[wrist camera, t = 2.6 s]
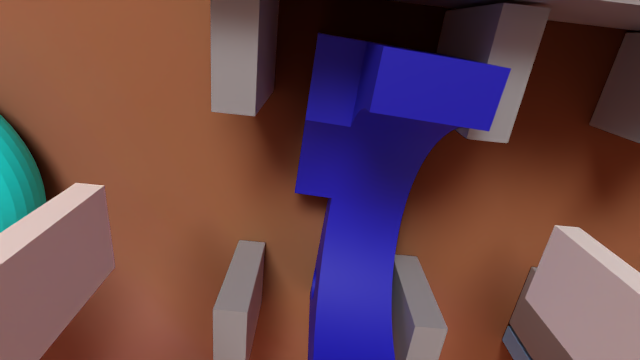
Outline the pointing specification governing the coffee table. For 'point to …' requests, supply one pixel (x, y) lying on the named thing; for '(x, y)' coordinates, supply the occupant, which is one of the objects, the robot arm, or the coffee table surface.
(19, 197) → the donuts
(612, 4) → the grey peg rack
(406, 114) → the blue curved block
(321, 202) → the coffee table surface
